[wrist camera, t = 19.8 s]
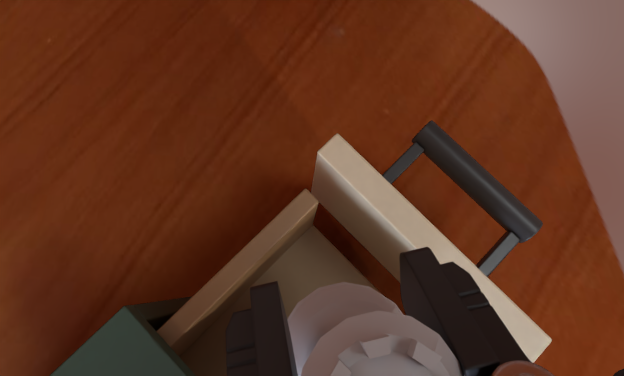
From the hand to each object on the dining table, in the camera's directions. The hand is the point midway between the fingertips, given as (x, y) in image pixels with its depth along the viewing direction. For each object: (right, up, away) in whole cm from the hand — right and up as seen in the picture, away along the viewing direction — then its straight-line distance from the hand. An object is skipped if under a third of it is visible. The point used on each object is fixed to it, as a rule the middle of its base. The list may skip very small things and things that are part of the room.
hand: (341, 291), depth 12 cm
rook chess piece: (0, -3, +4) cm, 5 cm away
